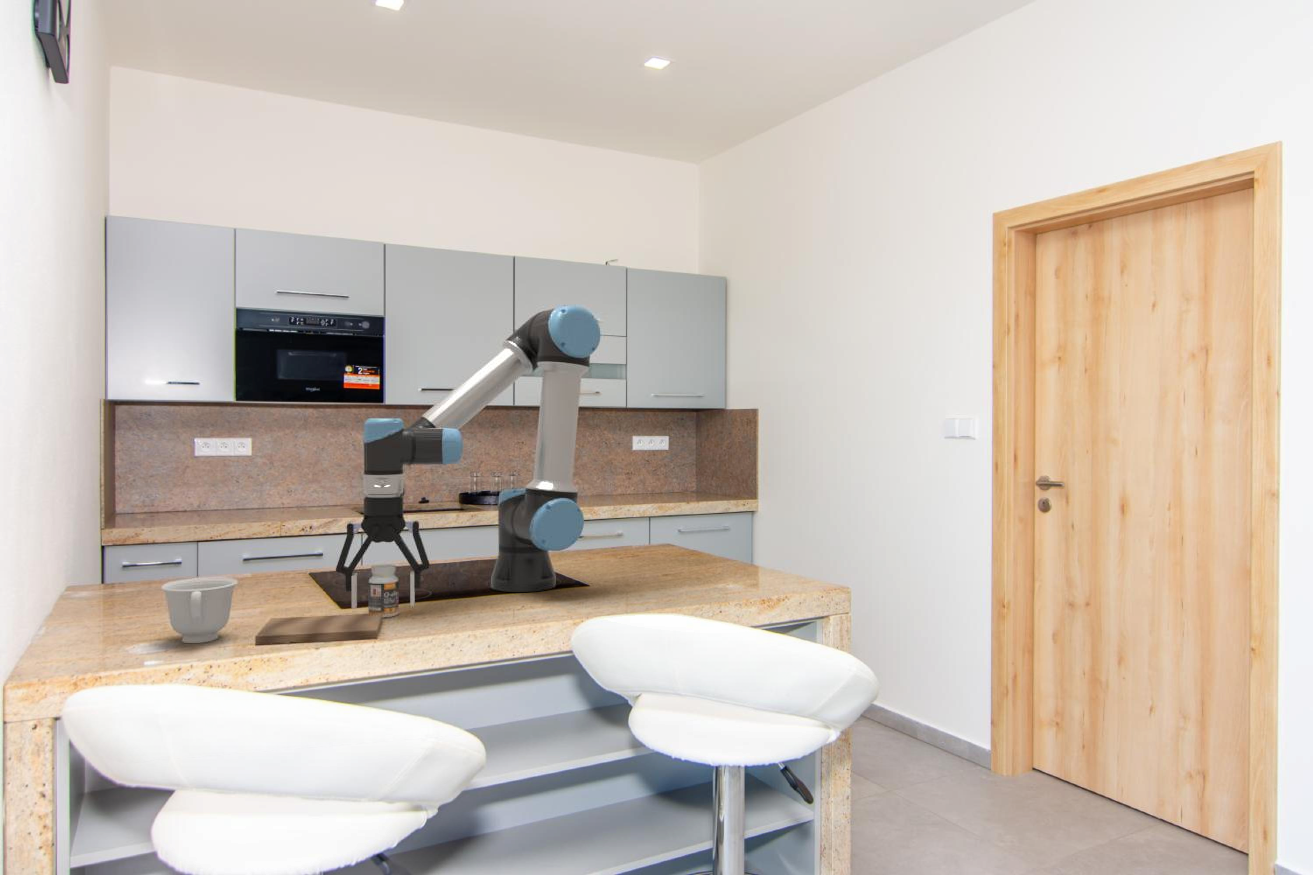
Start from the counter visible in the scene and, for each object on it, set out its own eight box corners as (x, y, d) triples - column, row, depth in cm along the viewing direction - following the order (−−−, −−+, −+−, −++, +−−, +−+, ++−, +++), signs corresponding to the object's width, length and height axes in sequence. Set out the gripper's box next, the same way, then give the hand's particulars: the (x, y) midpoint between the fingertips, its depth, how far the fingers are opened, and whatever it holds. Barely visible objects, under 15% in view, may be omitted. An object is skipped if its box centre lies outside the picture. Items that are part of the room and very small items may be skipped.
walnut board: (381, 620, 167) (381, 613, 167) (376, 638, 153) (376, 630, 153) (270, 626, 162) (270, 618, 162) (255, 645, 148) (255, 636, 148)
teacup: (154, 655, 142) (154, 595, 141) (165, 634, 155) (165, 579, 155) (235, 648, 146) (235, 589, 146) (239, 628, 160) (239, 575, 160)
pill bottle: (389, 619, 168) (389, 568, 168) (362, 617, 170) (362, 567, 169) (403, 612, 174) (403, 564, 174) (377, 611, 175) (377, 563, 175)
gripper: (319, 498, 165) (319, 612, 165) (442, 496, 170) (442, 607, 171) (324, 494, 172) (325, 604, 173) (442, 493, 178) (442, 599, 178)
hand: (383, 605), depth 172 cm, fingers open, 10 cm apart
